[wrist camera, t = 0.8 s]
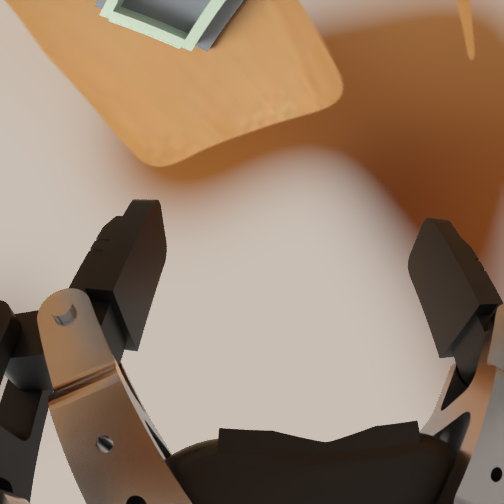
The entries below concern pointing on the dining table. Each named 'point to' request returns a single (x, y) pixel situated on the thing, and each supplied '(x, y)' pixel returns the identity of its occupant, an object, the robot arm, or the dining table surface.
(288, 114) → the dining table surface
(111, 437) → the robot arm
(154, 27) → the grey green docking tray
